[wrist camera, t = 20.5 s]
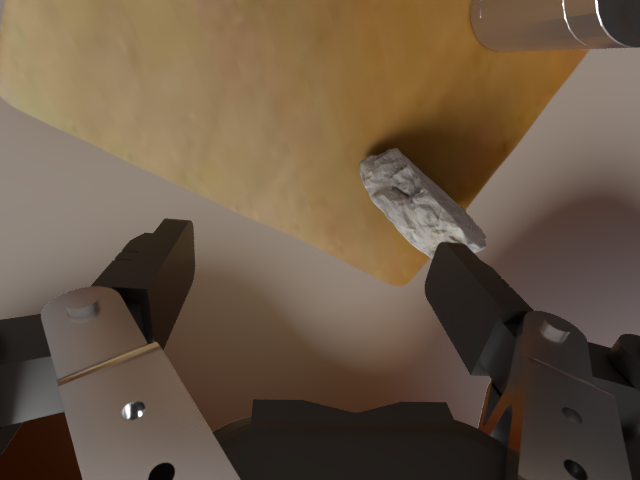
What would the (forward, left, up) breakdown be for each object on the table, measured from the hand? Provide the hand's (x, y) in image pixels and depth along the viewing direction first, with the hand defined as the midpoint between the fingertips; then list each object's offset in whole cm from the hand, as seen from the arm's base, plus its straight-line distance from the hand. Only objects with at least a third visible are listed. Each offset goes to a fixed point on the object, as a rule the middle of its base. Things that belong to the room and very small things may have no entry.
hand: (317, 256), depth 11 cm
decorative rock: (-16, +8, -33) cm, 38 cm away
